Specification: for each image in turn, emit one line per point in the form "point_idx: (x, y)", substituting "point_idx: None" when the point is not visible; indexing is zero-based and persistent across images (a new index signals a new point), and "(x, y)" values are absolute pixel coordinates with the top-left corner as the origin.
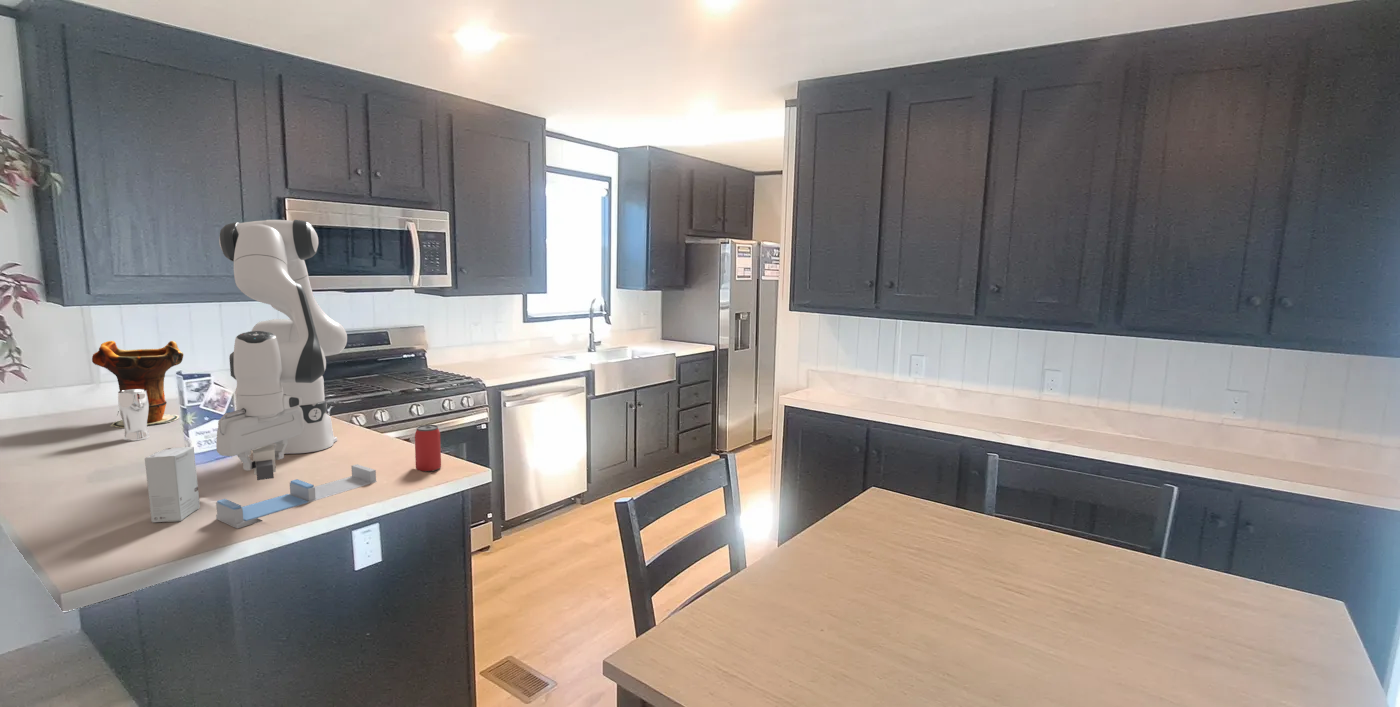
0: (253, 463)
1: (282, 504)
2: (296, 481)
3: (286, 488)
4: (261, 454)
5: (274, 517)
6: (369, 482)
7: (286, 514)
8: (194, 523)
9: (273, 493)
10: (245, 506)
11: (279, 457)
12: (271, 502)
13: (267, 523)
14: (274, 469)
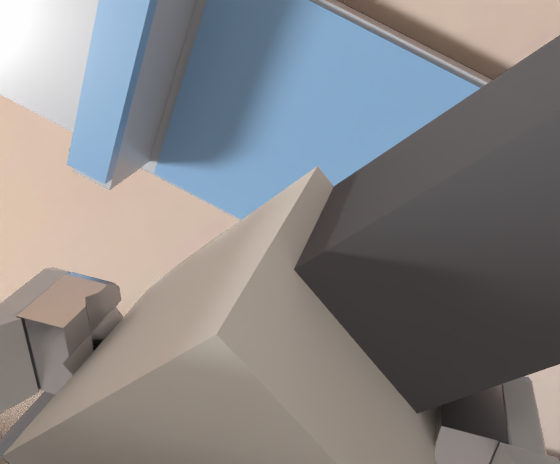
0: (477, 412)
1: (302, 94)
2: (98, 140)
3: (70, 250)
4: (364, 445)
5: (437, 48)
6: None
7: (381, 4)
8: (534, 388)
9: (135, 269)
10: None
11: (92, 289)
12: (284, 180)
13: (548, 20)
14: (318, 187)
